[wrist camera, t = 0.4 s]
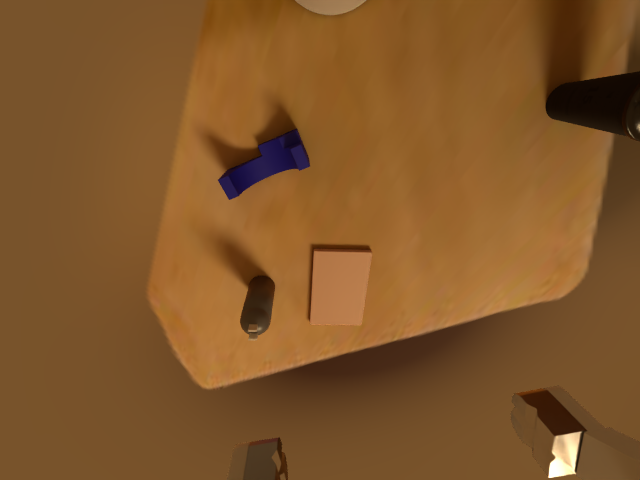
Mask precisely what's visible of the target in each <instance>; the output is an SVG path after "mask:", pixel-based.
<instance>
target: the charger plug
mask: <svg viewBox="0 0 640 480" xmlns="http://www.w3.org/2000/svg"><path fill="white" fill-rule="evenodd" d="M274 291H275V284H274V282H273V280H272V279H270V278H269V277H266V276H257V277H255V278H253V279H252V280H251V282H250V284H249V288H248V292H247V295H246V299H245V303H244V307H243V310H242V314H241V318H240V324H241V327H242V329H243V330H244V331H245V332H246V333H247V334H249V340H257V337H258V335H260V334H262V333H264V332H265V331H266V330H267V329H268V327H269V325H270V322H271V314H272V306H273V299H274Z"/></svg>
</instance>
